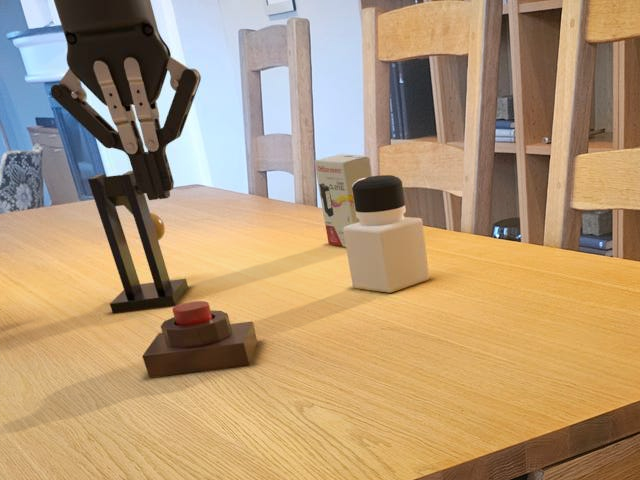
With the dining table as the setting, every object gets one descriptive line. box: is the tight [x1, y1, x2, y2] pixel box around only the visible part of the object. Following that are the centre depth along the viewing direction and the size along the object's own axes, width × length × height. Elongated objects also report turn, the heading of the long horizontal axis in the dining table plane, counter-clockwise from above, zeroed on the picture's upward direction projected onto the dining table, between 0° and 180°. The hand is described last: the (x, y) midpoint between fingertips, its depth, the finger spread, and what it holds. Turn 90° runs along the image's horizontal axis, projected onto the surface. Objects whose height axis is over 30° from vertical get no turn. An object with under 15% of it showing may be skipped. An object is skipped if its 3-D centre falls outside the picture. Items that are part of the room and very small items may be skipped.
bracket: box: [87, 169, 189, 314], centre depth 106 cm, size 10×8×15 cm
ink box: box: [313, 153, 373, 248], centre depth 126 cm, size 9×5×12 cm, turn 40°
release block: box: [141, 309, 258, 379], centre depth 85 cm, size 10×8×4 cm
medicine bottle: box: [343, 174, 430, 294], centre depth 102 cm, size 7×7×12 cm
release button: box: [171, 300, 213, 326], centre depth 83 cm, size 4×4×2 cm
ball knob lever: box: [103, 174, 166, 241], centre depth 109 cm, size 15×4×4 cm, turn 6°
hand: (159, 197), depth 77 cm, fingers closed
